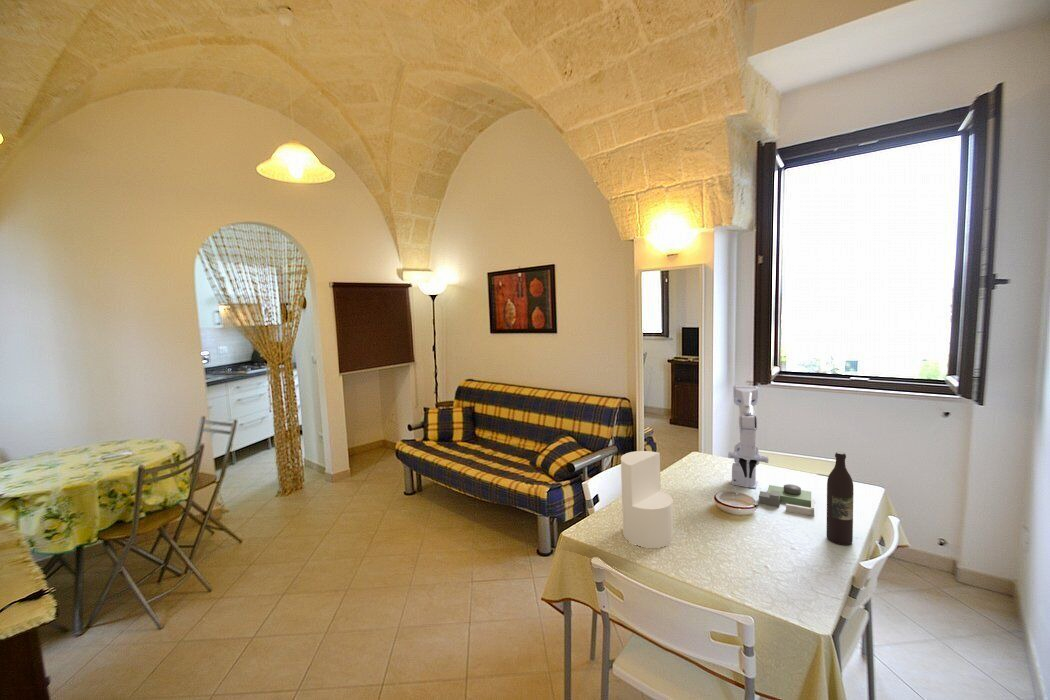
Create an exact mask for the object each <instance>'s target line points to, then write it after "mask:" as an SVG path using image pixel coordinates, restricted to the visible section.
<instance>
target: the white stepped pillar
mask: <svg viewBox="0 0 1050 700" xmlns="http://www.w3.org/2000/svg"><path fill="white" fill-rule="evenodd" d="M660 454H661V453H660V452H656V451H649V450H637V451H630V452H627V453H625V454H622V455H621V457H620V473H621V502H622V503H621V504H622V505H621V506H622V529H623V531H622V536H623V535H624V536H623V538H624V537H625V538H626V539H627V540H628V541H629V542H631V543H633V544H636V545H638V546H642V547H647V548H646V549H648V548H658V549H660V548H659V547H663V548H665V547H664V546H666V547H668V546H670V545H671V544H672V543H673V542H674V539H673V538H674V536H675V535H674V500H673V496H671V495H670V493H667V492H666V491H663V490H661V489H662V488H661V455H660ZM625 538H624V539H625ZM626 539H625V540H626ZM627 540H626V541H627ZM628 541H627V542H628ZM672 541H673V542H672ZM629 542H628V543H629ZM671 542H672V543H671ZM631 543H630V544H631ZM670 543H671V544H670ZM633 544H632V545H633ZM669 544H670V545H669ZM667 545H668V546H667ZM638 546H637V547H638ZM642 547H641V548H642Z"/></svg>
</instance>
